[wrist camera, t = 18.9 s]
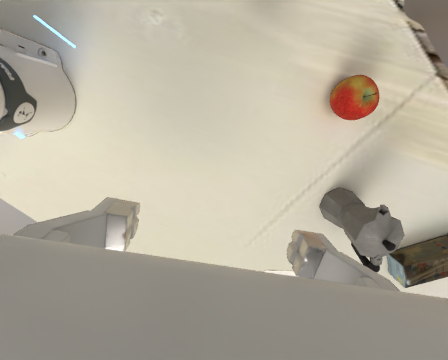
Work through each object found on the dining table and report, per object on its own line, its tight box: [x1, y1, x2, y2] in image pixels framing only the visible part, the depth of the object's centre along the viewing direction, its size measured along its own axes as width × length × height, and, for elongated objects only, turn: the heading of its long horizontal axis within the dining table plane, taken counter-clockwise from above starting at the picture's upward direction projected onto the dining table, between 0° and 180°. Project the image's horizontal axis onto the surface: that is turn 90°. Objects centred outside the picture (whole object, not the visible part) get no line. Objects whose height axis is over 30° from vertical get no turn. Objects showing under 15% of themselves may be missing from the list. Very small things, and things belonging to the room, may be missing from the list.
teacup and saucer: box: [265, 270, 296, 276], centre depth 63 cm, size 9×8×4 cm
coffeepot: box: [320, 188, 405, 272], centre depth 47 cm, size 15×9×18 cm, turn 6°
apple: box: [330, 75, 379, 120], centre depth 42 cm, size 8×8×10 cm
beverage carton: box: [387, 235, 448, 288], centre depth 58 cm, size 8×19×7 cm, turn 109°
